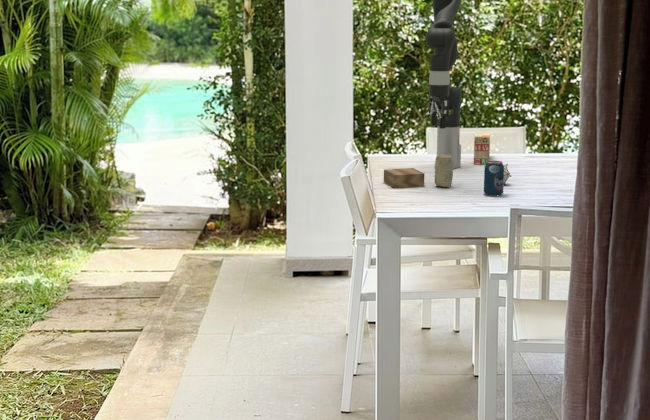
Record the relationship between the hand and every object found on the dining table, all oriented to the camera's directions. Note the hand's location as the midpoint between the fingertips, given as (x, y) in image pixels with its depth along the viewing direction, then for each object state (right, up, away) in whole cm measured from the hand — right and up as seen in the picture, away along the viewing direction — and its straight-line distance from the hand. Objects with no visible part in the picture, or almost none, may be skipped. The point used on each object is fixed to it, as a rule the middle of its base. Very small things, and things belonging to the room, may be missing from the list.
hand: (438, 127), depth 359 cm
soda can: (+19, -26, -9) cm, 33 cm away
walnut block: (-12, -21, +9) cm, 26 cm away
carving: (+3, -22, +5) cm, 23 cm away
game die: (+24, -21, +8) cm, 33 cm away
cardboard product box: (+26, -10, +59) cm, 65 cm away
